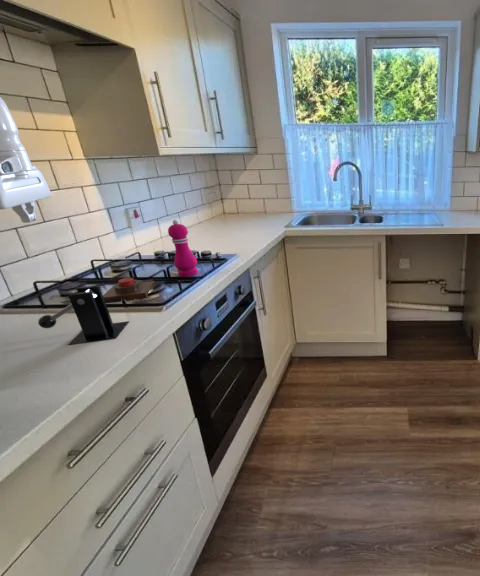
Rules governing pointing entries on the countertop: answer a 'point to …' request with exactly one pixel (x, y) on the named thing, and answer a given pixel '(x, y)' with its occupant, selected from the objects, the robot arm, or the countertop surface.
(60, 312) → the lever
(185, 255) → the pepper mill
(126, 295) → the button block
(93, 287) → the bracket
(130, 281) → the button
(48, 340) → the countertop surface
